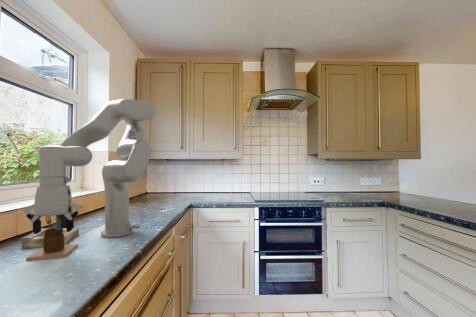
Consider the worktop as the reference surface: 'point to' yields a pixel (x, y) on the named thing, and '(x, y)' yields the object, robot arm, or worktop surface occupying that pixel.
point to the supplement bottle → (62, 222)
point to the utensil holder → (53, 238)
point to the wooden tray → (37, 239)
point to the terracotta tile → (60, 254)
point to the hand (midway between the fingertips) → (53, 231)
